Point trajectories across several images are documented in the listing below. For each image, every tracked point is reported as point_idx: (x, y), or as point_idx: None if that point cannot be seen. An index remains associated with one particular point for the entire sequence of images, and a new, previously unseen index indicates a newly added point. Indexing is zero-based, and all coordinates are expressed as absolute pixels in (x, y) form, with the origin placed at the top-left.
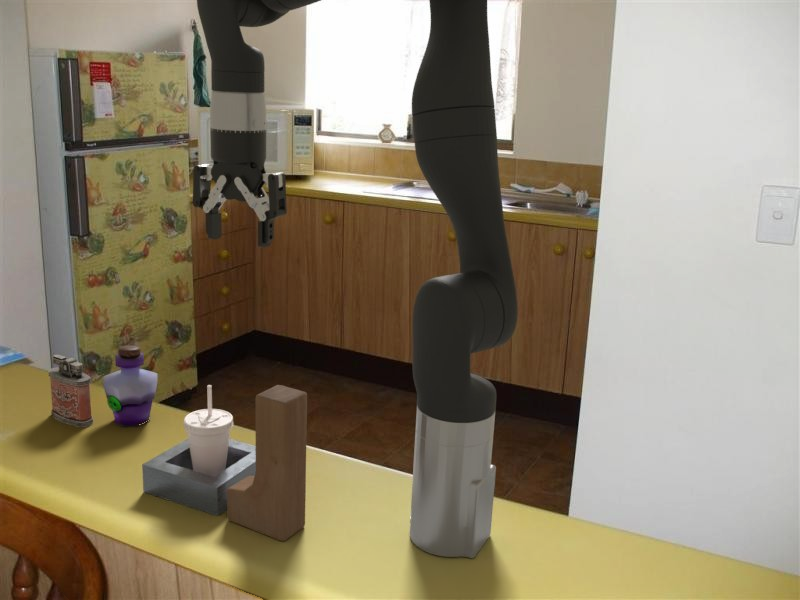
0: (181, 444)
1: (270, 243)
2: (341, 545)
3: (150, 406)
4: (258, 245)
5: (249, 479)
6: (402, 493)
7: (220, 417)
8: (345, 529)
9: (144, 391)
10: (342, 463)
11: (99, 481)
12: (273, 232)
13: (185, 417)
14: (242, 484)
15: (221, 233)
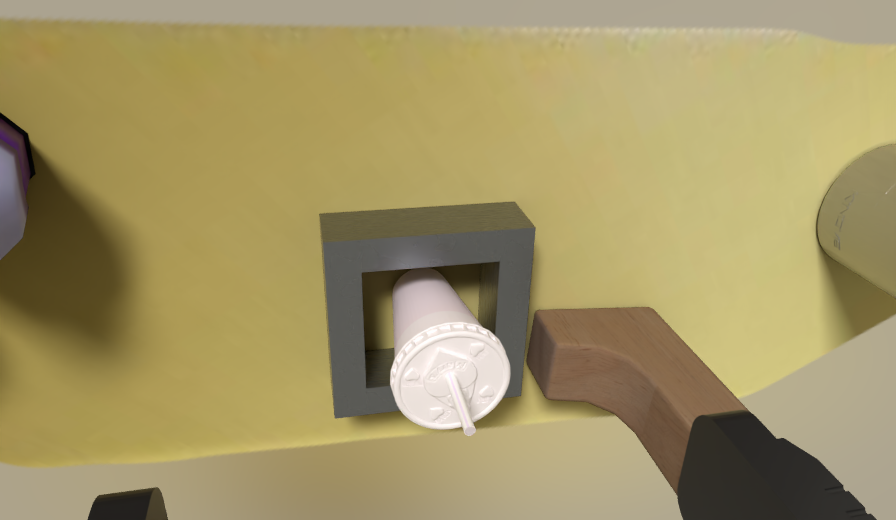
0: (336, 318)
1: (745, 415)
2: (721, 313)
3: (17, 150)
4: (684, 515)
5: (571, 363)
6: (781, 112)
7: (473, 362)
8: (713, 275)
9: (22, 215)
10: (627, 60)
11: (223, 399)
12: (860, 507)
13: (403, 411)
14: (569, 383)
15: (148, 506)
